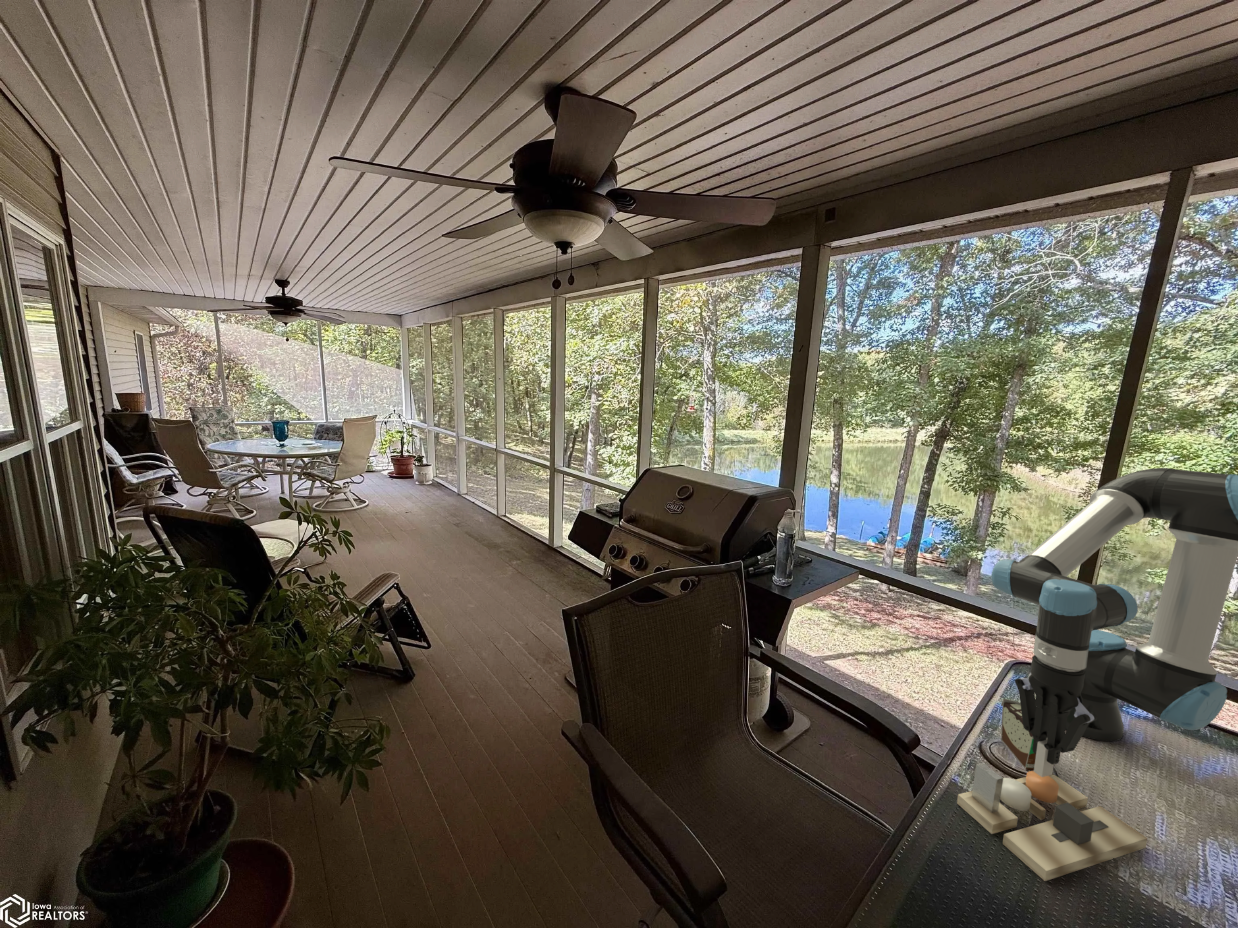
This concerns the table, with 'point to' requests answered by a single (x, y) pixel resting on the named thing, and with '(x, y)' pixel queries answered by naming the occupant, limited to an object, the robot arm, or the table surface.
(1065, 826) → the slider knob
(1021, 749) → the food container
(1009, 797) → the white egg
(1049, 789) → the brown egg
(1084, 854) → the beige flat pieces
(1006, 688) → the table surface
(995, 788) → the toggle lever
